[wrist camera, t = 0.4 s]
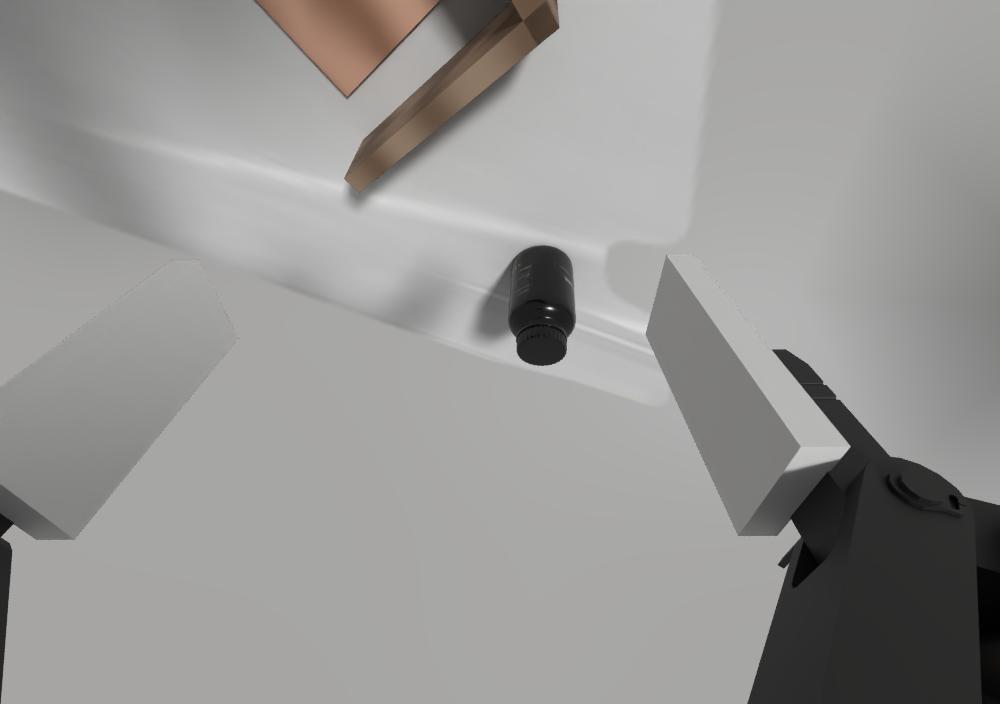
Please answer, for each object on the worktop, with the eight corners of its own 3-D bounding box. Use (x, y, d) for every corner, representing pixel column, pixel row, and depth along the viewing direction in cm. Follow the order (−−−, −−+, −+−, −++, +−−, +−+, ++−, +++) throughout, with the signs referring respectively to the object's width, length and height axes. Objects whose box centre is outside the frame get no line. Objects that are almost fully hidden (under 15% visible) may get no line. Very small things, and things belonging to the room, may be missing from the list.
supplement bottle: (585, 259, 45) (593, 347, 38) (549, 296, 50) (551, 379, 43) (532, 232, 43) (531, 320, 36) (500, 273, 48) (493, 358, 41)
